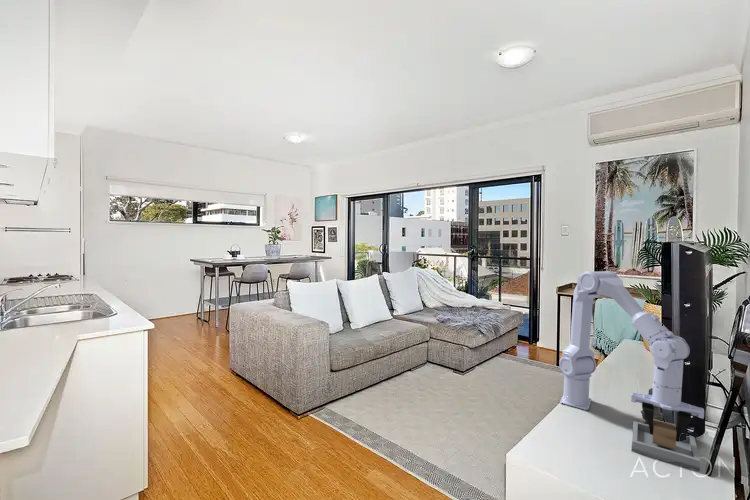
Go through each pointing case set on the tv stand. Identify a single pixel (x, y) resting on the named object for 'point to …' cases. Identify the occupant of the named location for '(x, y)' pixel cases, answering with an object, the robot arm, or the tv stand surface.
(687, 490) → the tv stand surface
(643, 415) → the dark grey turned piece
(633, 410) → the tv stand surface
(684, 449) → the tray
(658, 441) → the block
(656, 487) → the tv stand surface
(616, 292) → the robot arm
